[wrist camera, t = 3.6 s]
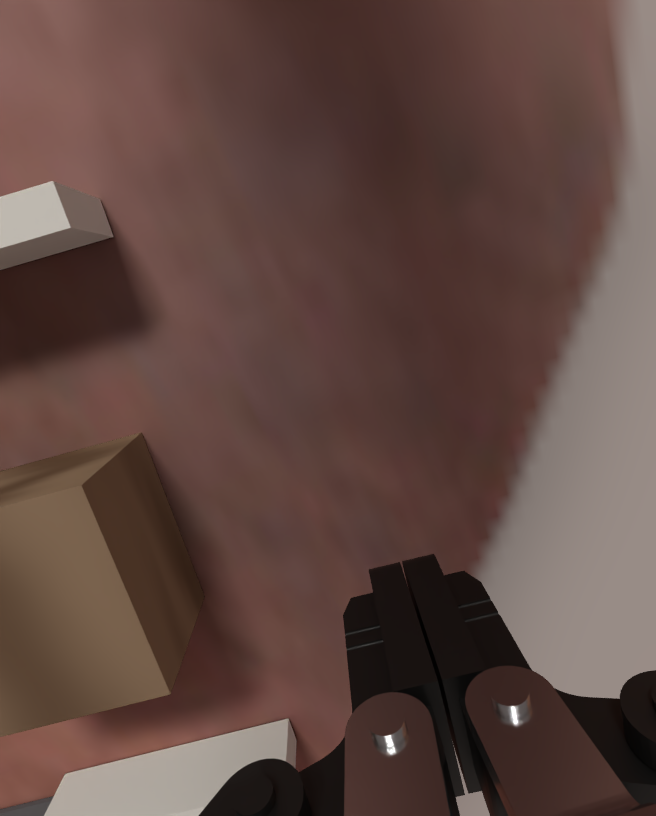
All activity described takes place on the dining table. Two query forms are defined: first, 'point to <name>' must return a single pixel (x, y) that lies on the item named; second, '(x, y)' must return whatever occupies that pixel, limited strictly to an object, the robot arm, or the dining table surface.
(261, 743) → the track
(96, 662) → the walnut block
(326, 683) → the dining table surface
